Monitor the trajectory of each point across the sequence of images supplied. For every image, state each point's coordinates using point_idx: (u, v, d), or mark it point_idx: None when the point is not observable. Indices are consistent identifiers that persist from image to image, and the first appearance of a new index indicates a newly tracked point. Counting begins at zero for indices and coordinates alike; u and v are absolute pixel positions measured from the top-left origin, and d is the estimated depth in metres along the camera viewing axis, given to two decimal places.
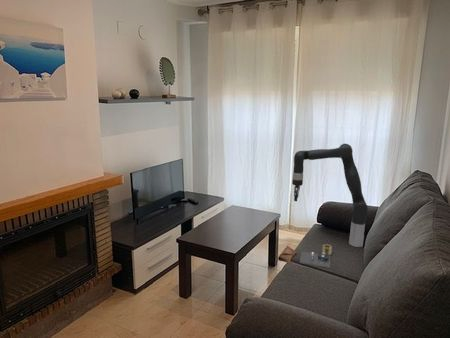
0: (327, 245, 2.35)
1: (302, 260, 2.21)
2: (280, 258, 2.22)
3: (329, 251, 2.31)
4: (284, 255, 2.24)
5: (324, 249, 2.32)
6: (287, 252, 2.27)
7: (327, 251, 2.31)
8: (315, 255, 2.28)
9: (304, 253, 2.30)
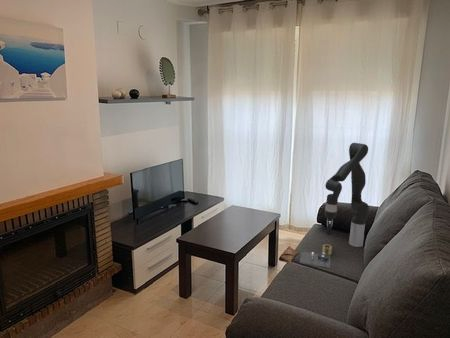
0: (327, 245, 2.35)
1: (302, 260, 2.21)
2: (281, 258, 2.22)
3: (329, 251, 2.31)
4: (285, 255, 2.24)
5: (324, 249, 2.32)
6: (288, 252, 2.26)
7: (327, 251, 2.31)
8: (315, 255, 2.28)
9: (304, 253, 2.30)
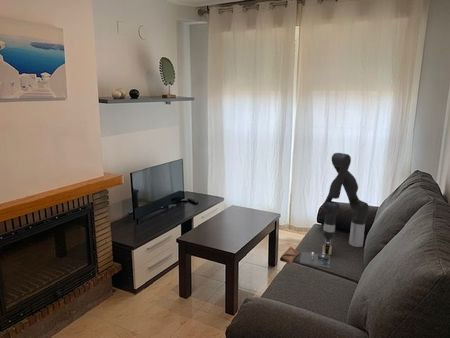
0: None
1: (302, 260, 2.21)
2: (282, 259, 2.22)
3: (329, 251, 2.31)
4: (286, 256, 2.23)
5: (324, 249, 2.32)
6: (289, 253, 2.26)
7: None
8: (315, 255, 2.28)
9: (304, 253, 2.30)
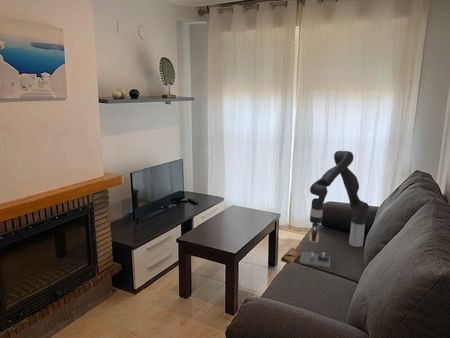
0: None
1: (302, 260, 2.21)
2: (283, 259, 2.21)
3: (316, 238, 2.17)
4: (287, 256, 2.23)
5: (311, 236, 2.18)
6: (291, 253, 2.25)
7: None
8: (315, 255, 2.28)
9: (304, 253, 2.30)
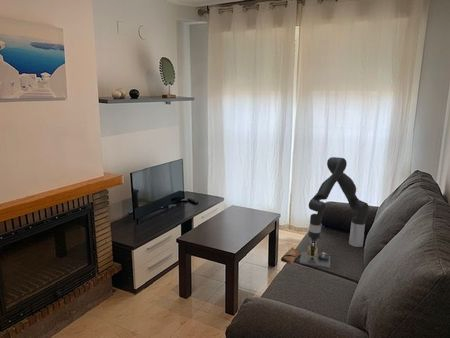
0: None
1: (302, 260, 2.21)
2: (283, 259, 2.21)
3: (315, 253, 2.19)
4: (287, 256, 2.23)
5: (309, 251, 2.20)
6: (291, 253, 2.25)
7: None
8: None
9: (304, 253, 2.30)
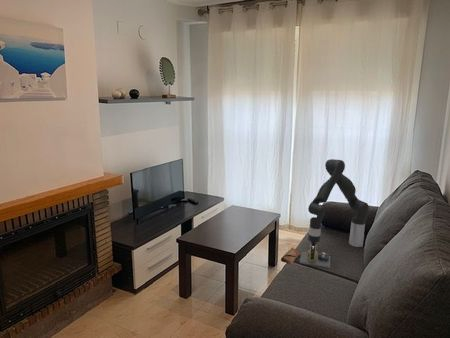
0: None
1: (302, 260, 2.21)
2: (283, 259, 2.21)
3: (314, 257, 2.20)
4: (287, 256, 2.23)
5: (309, 255, 2.21)
6: (291, 254, 2.25)
7: None
8: None
9: (304, 253, 2.30)
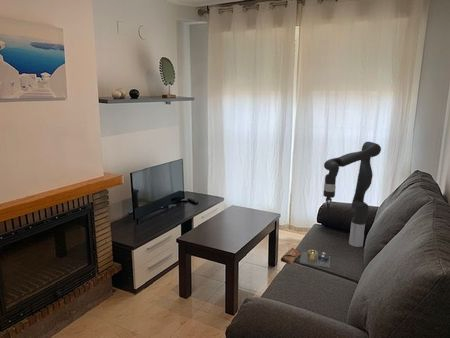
0: (313, 250, 2.24)
1: (302, 260, 2.21)
2: (283, 259, 2.21)
3: (314, 257, 2.20)
4: (287, 256, 2.22)
5: (309, 255, 2.21)
6: (291, 254, 2.25)
7: (312, 257, 2.20)
8: None
9: (304, 253, 2.30)
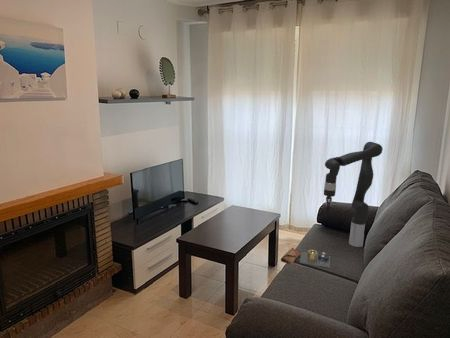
0: (313, 250, 2.24)
1: (302, 260, 2.21)
2: (283, 259, 2.21)
3: (314, 257, 2.20)
4: (287, 257, 2.22)
5: (309, 255, 2.21)
6: (291, 254, 2.25)
7: (312, 257, 2.20)
8: None
9: (304, 253, 2.30)
